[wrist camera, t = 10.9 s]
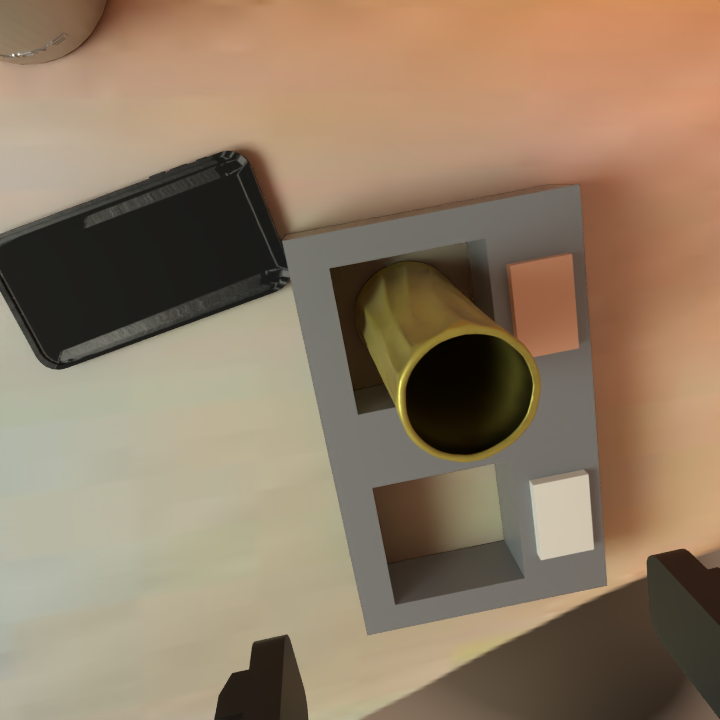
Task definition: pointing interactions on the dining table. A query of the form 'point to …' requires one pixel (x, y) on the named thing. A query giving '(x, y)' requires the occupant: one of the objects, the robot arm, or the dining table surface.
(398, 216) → the socket block
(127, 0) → the dining table surface
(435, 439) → the vase
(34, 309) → the phone
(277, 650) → the robot arm
